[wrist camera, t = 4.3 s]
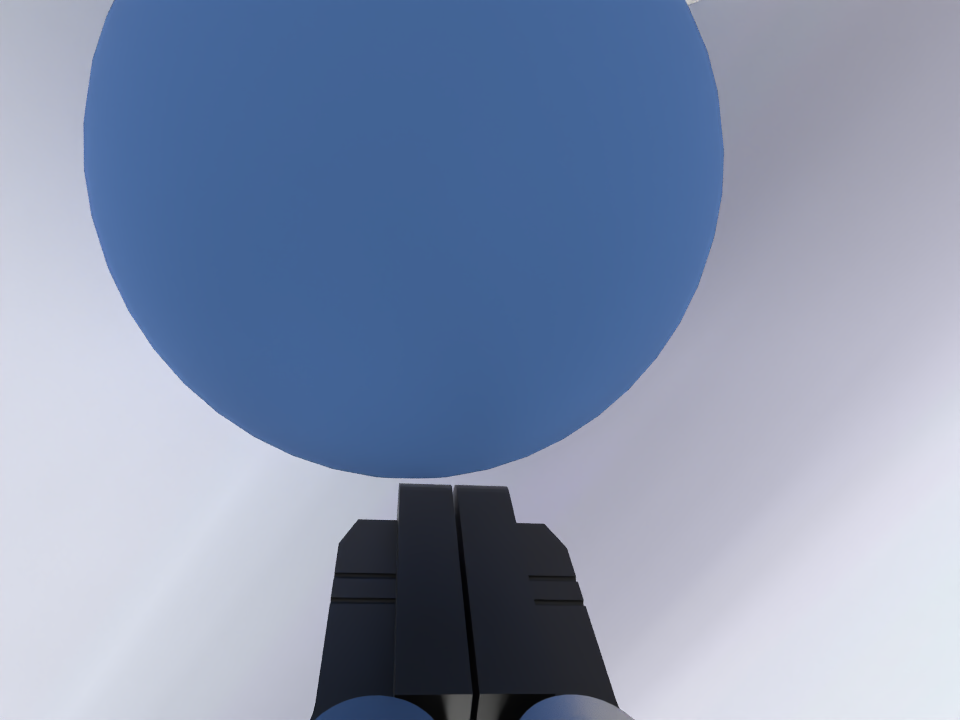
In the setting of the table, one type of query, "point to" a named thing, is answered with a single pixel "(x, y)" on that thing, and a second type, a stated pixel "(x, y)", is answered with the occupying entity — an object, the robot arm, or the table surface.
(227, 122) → the ball
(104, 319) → the table surface
